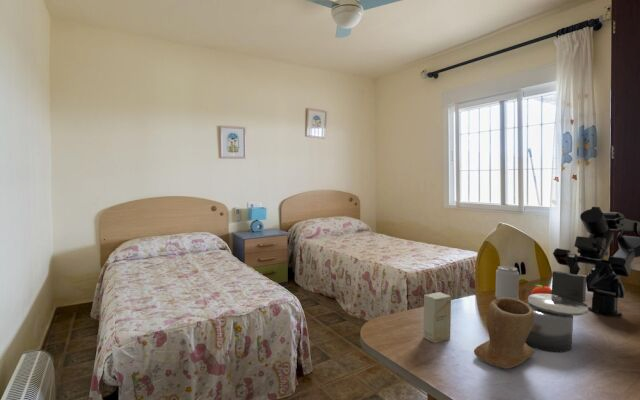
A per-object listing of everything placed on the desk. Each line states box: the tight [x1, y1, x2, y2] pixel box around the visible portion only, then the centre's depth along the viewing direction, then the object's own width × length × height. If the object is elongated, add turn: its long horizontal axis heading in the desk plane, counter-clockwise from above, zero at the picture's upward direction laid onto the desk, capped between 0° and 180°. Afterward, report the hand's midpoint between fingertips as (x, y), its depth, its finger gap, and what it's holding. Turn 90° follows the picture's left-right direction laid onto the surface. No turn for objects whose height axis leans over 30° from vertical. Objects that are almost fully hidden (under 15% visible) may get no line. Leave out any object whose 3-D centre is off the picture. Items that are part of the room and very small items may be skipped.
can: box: [494, 265, 520, 300], centre depth 128 cm, size 8×8×12 cm
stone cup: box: [473, 297, 535, 369], centre depth 85 cm, size 15×12×15 cm
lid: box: [527, 270, 589, 317], centre depth 99 cm, size 14×14×8 cm
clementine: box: [529, 284, 552, 295], centre depth 122 cm, size 8×7×7 cm
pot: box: [525, 302, 574, 353], centre depth 98 cm, size 13×20×8 cm, turn 31°
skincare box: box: [423, 291, 452, 344], centre depth 97 cm, size 6×4×12 cm
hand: (579, 283), depth 106 cm, fingers open, 4 cm apart
